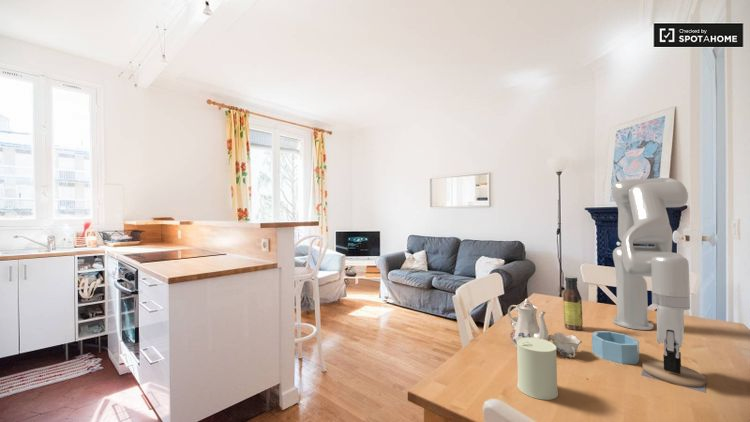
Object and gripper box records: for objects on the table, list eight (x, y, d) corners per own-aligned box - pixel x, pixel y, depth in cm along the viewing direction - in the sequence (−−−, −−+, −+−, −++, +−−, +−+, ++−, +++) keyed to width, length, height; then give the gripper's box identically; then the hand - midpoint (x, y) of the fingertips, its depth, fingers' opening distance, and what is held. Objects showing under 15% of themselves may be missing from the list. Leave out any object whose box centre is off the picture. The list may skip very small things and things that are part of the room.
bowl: (597, 346, 104) (597, 328, 104) (640, 357, 96) (640, 337, 96) (590, 357, 96) (589, 337, 96) (636, 369, 88) (635, 348, 88)
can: (510, 380, 83) (509, 335, 83) (542, 379, 84) (541, 334, 84) (530, 401, 74) (529, 350, 74) (566, 398, 75) (565, 348, 75)
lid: (645, 359, 93) (644, 339, 93) (705, 374, 84) (704, 352, 84) (640, 375, 84) (639, 352, 84) (706, 393, 75) (706, 368, 75)
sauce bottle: (585, 331, 118) (584, 279, 118) (567, 330, 119) (566, 278, 119) (578, 325, 124) (576, 275, 125) (561, 324, 125) (559, 275, 126)
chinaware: (592, 363, 96) (594, 309, 97) (554, 368, 89) (557, 310, 90) (518, 332, 122) (521, 290, 123) (485, 334, 115) (488, 289, 116)
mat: (645, 362, 93) (645, 360, 93) (704, 376, 84) (704, 374, 84) (641, 377, 84) (641, 374, 84) (705, 394, 76) (705, 392, 76)
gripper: (654, 293, 93) (656, 354, 93) (649, 304, 81) (651, 374, 81) (690, 297, 88) (692, 362, 87) (689, 310, 76) (692, 385, 76)
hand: (672, 367), depth 84 cm, fingers open, 4 cm apart
